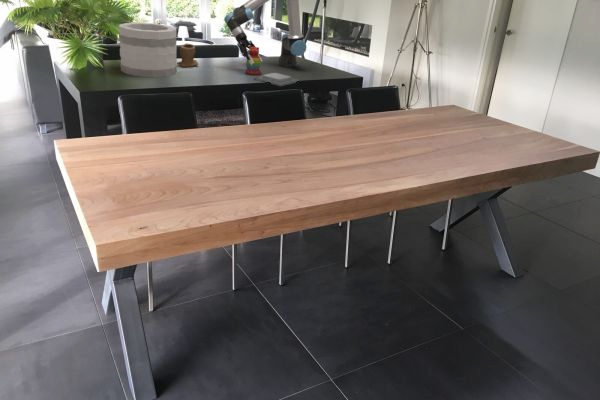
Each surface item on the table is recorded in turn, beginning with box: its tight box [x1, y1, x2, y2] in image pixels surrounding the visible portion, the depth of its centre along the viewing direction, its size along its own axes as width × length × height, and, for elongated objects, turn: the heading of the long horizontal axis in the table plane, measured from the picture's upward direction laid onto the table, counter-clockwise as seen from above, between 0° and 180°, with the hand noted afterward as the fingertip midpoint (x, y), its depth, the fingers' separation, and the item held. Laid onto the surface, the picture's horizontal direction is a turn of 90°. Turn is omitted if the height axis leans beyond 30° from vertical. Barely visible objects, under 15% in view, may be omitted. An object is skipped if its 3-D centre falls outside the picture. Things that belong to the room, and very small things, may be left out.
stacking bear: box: [245, 46, 262, 75], centre depth 344 cm, size 11×10×18 cm
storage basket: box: [118, 22, 178, 78], centre depth 319 cm, size 35×35×27 cm
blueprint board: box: [253, 72, 300, 87], centre depth 336 cm, size 22×22×3 cm
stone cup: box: [177, 43, 199, 68], centre depth 346 cm, size 15×12×15 cm
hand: (256, 63), depth 343 cm, fingers closed on stacking bear, 9 cm apart
